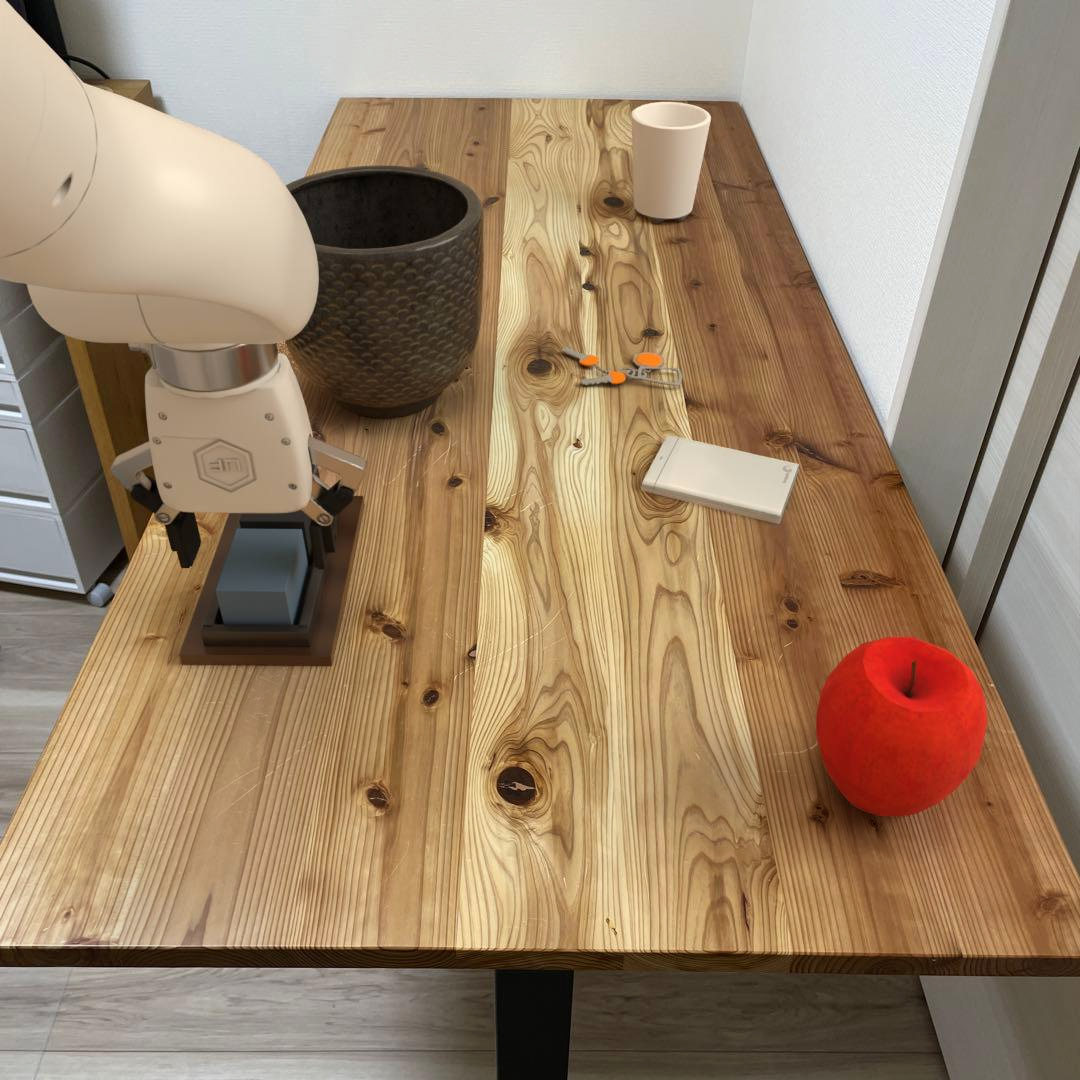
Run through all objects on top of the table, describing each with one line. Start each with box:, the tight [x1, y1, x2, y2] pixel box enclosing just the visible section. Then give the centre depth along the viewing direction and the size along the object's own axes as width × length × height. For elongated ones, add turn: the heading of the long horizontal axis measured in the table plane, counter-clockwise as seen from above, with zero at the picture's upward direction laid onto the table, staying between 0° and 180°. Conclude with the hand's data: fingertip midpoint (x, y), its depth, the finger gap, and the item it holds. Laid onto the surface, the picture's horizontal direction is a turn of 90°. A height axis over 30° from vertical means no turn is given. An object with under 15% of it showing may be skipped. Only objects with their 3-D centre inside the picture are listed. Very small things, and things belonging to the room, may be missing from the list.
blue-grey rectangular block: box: [216, 529, 309, 625], centre depth 80 cm, size 7×5×4 cm
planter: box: [284, 164, 485, 419], centre depth 101 cm, size 20×20×19 cm
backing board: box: [178, 495, 366, 666], centre depth 84 cm, size 19×11×2 cm, turn 0°
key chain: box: [560, 346, 683, 387], centre depth 109 cm, size 13×7×1 cm, turn 83°
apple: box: [815, 636, 989, 818], centre depth 66 cm, size 10×10×12 cm
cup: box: [630, 101, 712, 224], centre depth 136 cm, size 10×10×13 cm
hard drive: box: [640, 434, 800, 525], centre depth 96 cm, size 2×8×12 cm
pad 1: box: [239, 467, 321, 565], centre depth 86 cm, size 7×5×4 cm
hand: (257, 556), depth 78 cm, fingers open, 9 cm apart
